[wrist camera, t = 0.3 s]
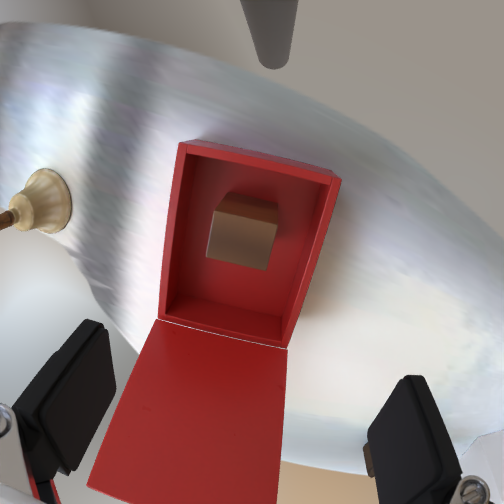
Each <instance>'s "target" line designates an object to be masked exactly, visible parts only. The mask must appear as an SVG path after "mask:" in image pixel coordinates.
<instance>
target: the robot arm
mask: <svg viewBox="0 0 504 504" xmlns="http://www.w3.org/2000/svg"><path fill="white" fill-rule="evenodd" d="M115 392H116V381H115V375H114V369H113V364H112V356H111V349H110V341H109V333H108V330H107V329H104V325H103V324H102V323H99V322H96V321H93V320H89V319H85V320H84V321H83V322H82V323H81V324H80V325H79V327H77V329H76V330H75V331H74V332H73V333H72V335H71V336H70V337H69V338H68V339H67V341H66V342H65V343H64V344H63V345H62V347H61V348H60V349H59V350H58V351H56V352H55V353H54V354H53V355H52V356H51V357H50V358H49V360H48V361H47V362H46V364H45V365H44V366H43V367H42V368H41V370H40V371H39V372H38V374H37V375H36V376H35V377H34V379H33V380H32V381H31V382H30V384H29V385H28V386H27V388H26V389H25V390H24V391H23V393H22V394H21V396H20V397H19V398H18V399H17V401H16V402H15V403H14V405H13V406H12V408H10V407H8V406H7V405H6V404H2V403H0V504H61V502H60V499H59V496H58V493H57V490H56V487H55V485H54V481H53V478H54V476H55V474H56V472H57V471H58V472H60V473H62V474H64V475H66V476H69V474H70V472H71V470H72V471H76V469H77V468H78V466H79V464H80V462H81V460H82V458H83V456H84V454H85V452H86V450H87V448H88V446H89V444H90V442H91V440H92V438H93V436H94V434H95V432H96V430H97V428H98V426H99V424H100V422H101V421H102V418H103V417H104V415H105V413H106V411H107V409H108V407H109V405H110V403H111V401H112V400H113V397H114V396H115ZM367 438H368V443H369V448H370V453H371V458H372V464H373V469H374V475H375V479H376V486H377V492H378V498H379V504H495V503H493V502H491V501H490V489H489V487H488V485H487V483H486V482H485V481H484V480H483V479H482V478H480V477H478V476H475V475H469V476H466V477H464V478H463V479H462V478H461V474H462V473H463V472H462V469H461V466H460V464H459V461H458V458H457V455H456V453H455V450H454V447H453V445H452V442H451V439H450V437H449V434H448V432H447V429H446V427H445V424H444V422H443V419H442V417H441V415H440V412H439V410H438V407H437V405H436V403H435V400H434V398H433V396H432V394H431V391H430V389H429V387H428V385H427V382H426V380H425V378H424V377H423V376H422V375H406V376H405V377H404V378H403V379H401V380H399V382H398V383H397V385H396V387H395V388H394V390H393V392H392V393H391V395H390V396H389V398H388V400H387V401H386V403H385V404H384V406H383V407H382V409H381V411H380V412H379V414H378V415H377V417H376V418H375V420H374V421H373V422H372V424H371V425H370V427H369V429H368V433H367Z"/></svg>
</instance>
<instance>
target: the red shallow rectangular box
mask: <svg viewBox="0 0 504 504" xmlns="http://www.w3.org/2000/svg"><path fill="white" fill-rule="evenodd" d="M341 181H342V179H341V178H339V177H338V176H337V175H336V174H335V173H334V172H333V171H331V170H329V169H325V168H321V167H318V166H314V165H310V164H306V163H302V162H298V161H295V160H290V159H286V158H282V157H278V156H274V155H270V154H265V153H261V152H256V151H252V150H247V149H242V148H238V147H233V146H228V145H223V144H218V143H212V142H207V141H201V140H196V139H195V140H189V141H184V142H179V144H178V150H177V156H176V162H175V168H174V174H173V181H172V187H171V194H170V201H169V209H168V216H167V224H166V232H165V241H164V250H163V259H162V270H161V281H160V292H159V306H158V319H161V320H165V321H169V322H172V323H176V324H180V325H183V326H187V327H191V328H195V329H199V330H203V331H207V332H211V333H215V334H220V335H224V336H228V337H233V338H237V339H241V340H246V341H251V342H255V343H260V344H265V345H270V346H275V347H280V348H285V349H287V347H288V344H289V341H290V338H291V336H292V333H293V330H294V328H295V325H296V322H297V319H298V316H299V314H300V311H301V308H302V305H303V302H304V299H305V296H306V293H307V290H308V288H309V285H310V282H311V279H312V276H313V273H314V270H315V267H316V263H317V260H318V257H319V254H320V251H321V248H322V245H323V242H324V238H325V235H326V232H327V229H328V225H329V222H330V219H331V216H332V212H333V209H334V205H335V202H336V199H337V195H338V192H339V188H340V185H341ZM227 192H232V193H236V194H241V195H245V196H250V197H254V198H258V199H263V200H267V201H271V202H276V203H278V229H277V232H276V236H275V240H274V244H273V248H272V252H271V255H270V259H269V263H268V267H267V270H266V271H263V270H259V269H255V268H250V267H246V266H242V265H237V264H233V263H229V262H224V261H220V260H216V259H212V258H207V257H206V251H207V245H208V240H209V234H210V228H211V223H212V217H213V212H214V210H215V208H216V207H217V206H218V204H219V203H220V202H221V200H222V199H223V198H224V196H225V195H226V193H227Z"/></svg>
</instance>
